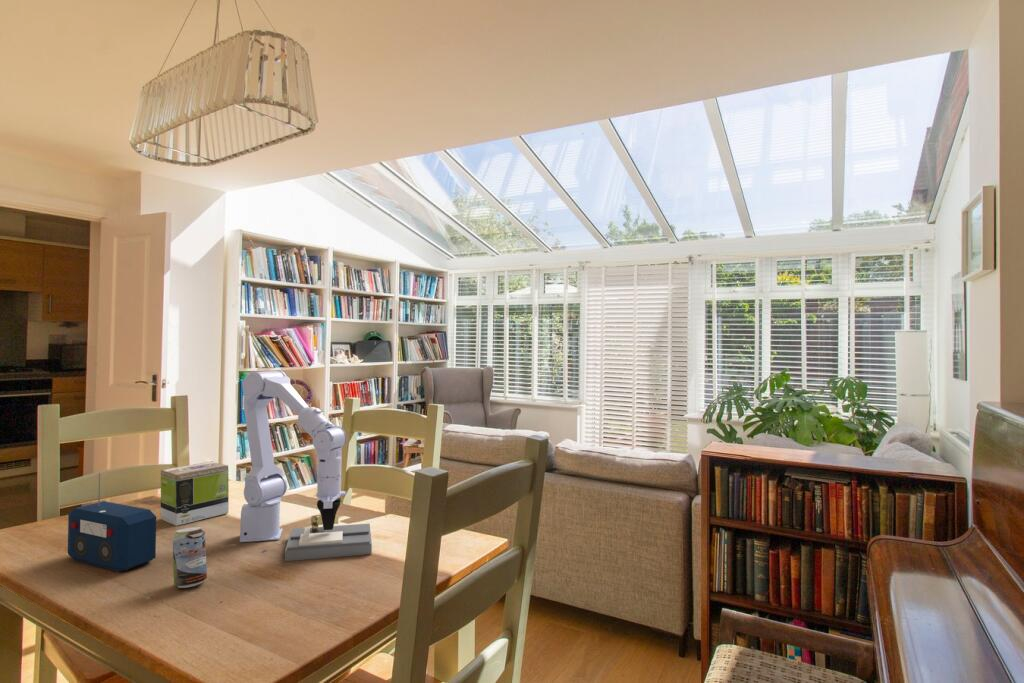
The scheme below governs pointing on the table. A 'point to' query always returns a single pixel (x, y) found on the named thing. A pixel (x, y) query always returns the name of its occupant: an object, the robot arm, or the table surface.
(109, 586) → the table surface
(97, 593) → the table surface
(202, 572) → the beverage can
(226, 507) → the tea box
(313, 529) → the key
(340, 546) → the case
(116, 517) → the radio
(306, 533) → the cover
